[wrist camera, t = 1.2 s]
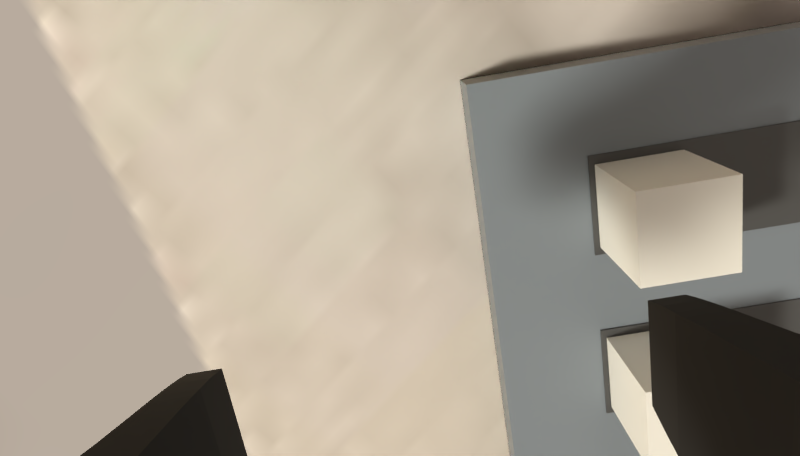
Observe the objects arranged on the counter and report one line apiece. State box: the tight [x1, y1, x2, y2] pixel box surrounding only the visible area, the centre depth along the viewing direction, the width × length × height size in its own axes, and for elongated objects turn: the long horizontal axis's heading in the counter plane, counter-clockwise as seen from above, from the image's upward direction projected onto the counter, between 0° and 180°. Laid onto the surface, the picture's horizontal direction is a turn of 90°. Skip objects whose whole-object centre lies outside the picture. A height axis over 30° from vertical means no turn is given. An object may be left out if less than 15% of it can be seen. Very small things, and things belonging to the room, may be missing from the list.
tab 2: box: [607, 331, 678, 456], centre depth 18 cm, size 2×2×3 cm
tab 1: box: [595, 150, 743, 289], centre depth 16 cm, size 2×2×3 cm
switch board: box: [460, 22, 800, 456], centre depth 20 cm, size 19×16×2 cm
